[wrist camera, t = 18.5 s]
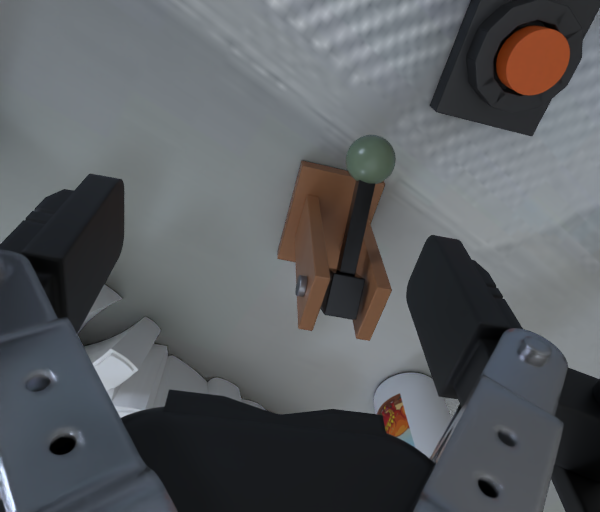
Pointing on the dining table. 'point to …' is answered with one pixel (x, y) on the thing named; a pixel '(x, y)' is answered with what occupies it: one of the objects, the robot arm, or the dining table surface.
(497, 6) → the button base
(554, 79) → the power button
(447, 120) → the dining table surface
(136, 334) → the white letter sign
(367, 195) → the switch lever
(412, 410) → the milk bottle
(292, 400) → the dining table surface
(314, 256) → the switch bracket
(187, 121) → the dining table surface
